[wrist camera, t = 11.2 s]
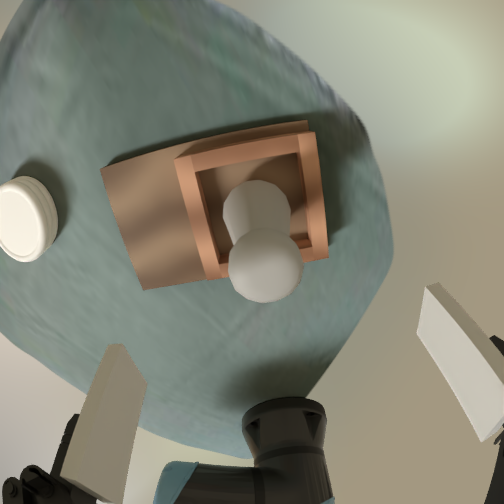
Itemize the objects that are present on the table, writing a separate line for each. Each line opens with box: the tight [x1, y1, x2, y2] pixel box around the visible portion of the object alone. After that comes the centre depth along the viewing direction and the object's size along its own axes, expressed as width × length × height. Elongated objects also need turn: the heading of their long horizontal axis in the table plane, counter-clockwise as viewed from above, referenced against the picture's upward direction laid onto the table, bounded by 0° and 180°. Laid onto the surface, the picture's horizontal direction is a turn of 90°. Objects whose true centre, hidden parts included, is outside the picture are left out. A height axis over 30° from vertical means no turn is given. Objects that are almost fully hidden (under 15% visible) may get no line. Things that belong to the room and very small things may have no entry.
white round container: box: [0, 176, 58, 262], centre depth 26 cm, size 10×10×4 cm
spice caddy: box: [100, 120, 329, 290], centre depth 27 cm, size 14×20×4 cm
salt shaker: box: [223, 180, 304, 303], centre depth 22 cm, size 6×6×13 cm
